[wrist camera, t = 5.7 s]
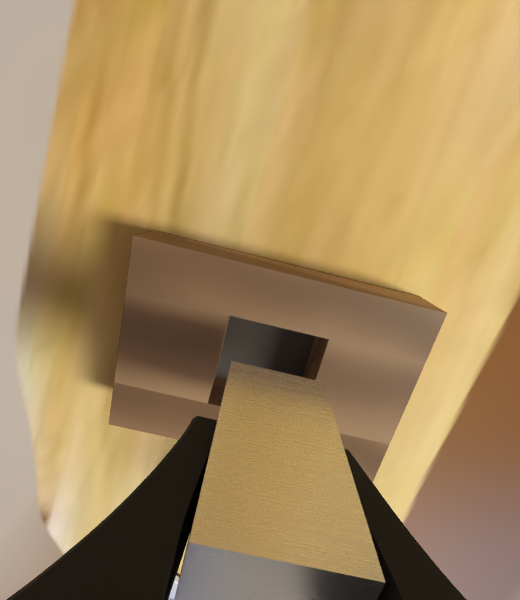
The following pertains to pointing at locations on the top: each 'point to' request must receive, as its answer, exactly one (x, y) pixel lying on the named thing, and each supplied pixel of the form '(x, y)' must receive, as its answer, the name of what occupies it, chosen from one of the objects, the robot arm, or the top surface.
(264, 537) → the square bit
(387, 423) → the bore block
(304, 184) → the top surface
